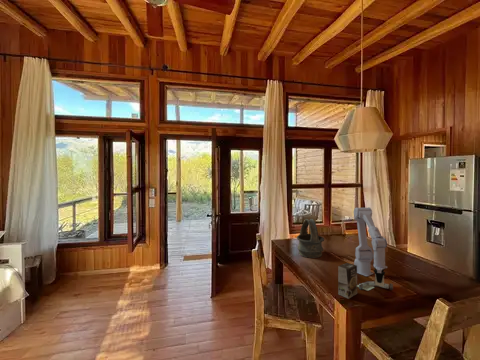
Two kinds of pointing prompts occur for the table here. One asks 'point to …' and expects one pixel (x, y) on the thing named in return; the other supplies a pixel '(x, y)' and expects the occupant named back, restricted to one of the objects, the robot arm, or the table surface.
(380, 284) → the u block
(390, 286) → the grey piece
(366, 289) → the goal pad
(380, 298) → the table surface
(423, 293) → the table surface
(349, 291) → the coffee box
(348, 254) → the table surface
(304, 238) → the basket with handle
